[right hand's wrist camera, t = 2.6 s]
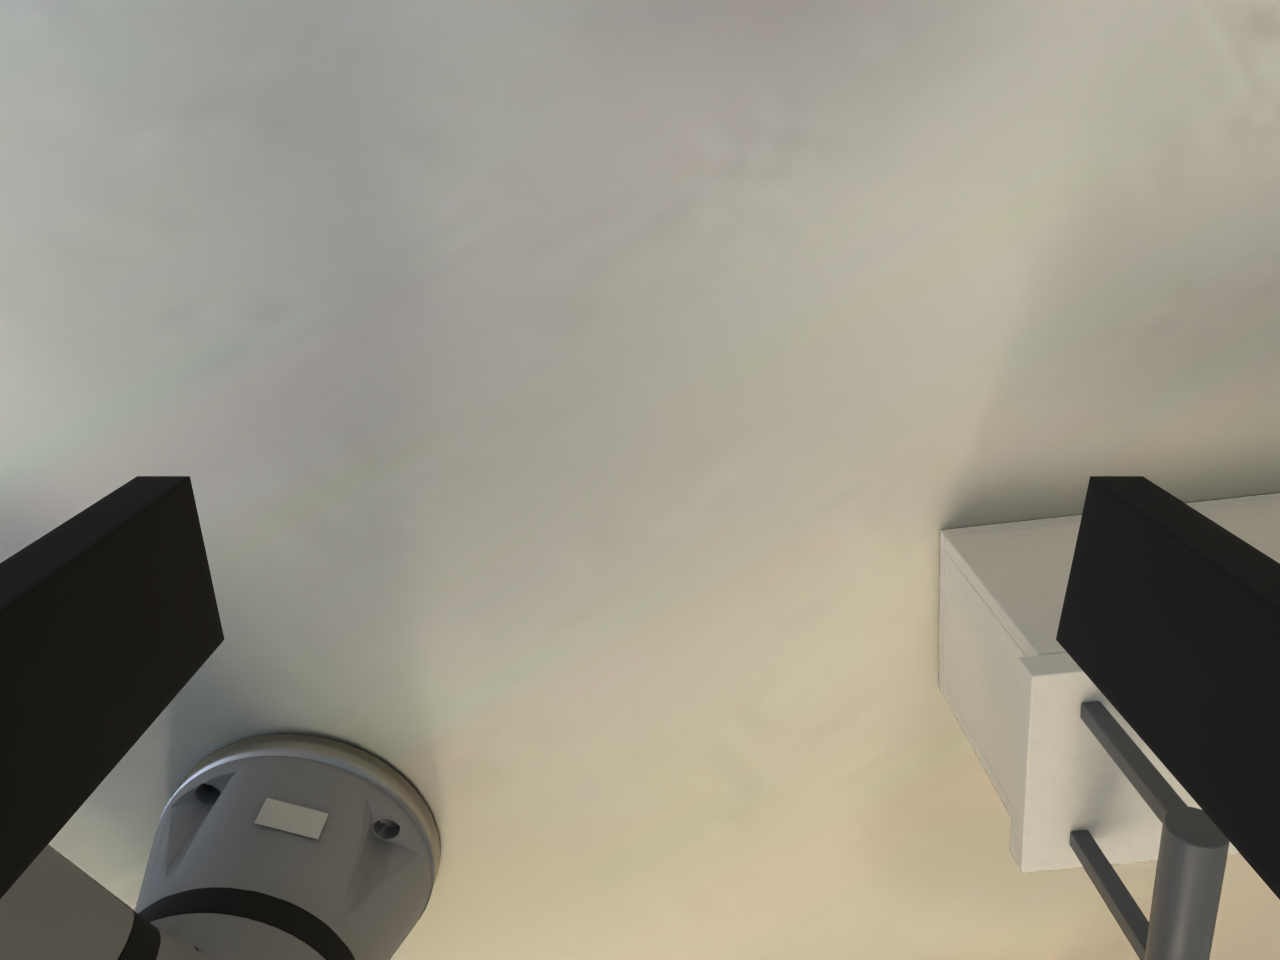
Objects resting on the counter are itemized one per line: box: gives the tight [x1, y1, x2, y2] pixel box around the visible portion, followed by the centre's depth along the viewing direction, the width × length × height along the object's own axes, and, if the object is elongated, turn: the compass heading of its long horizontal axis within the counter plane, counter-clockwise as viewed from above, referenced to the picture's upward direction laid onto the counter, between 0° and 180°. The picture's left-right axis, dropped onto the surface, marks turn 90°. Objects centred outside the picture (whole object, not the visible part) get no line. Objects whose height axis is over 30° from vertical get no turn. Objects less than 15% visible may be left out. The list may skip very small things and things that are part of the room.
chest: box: [939, 493, 1280, 817], centre depth 37 cm, size 17×9×11 cm, turn 97°
